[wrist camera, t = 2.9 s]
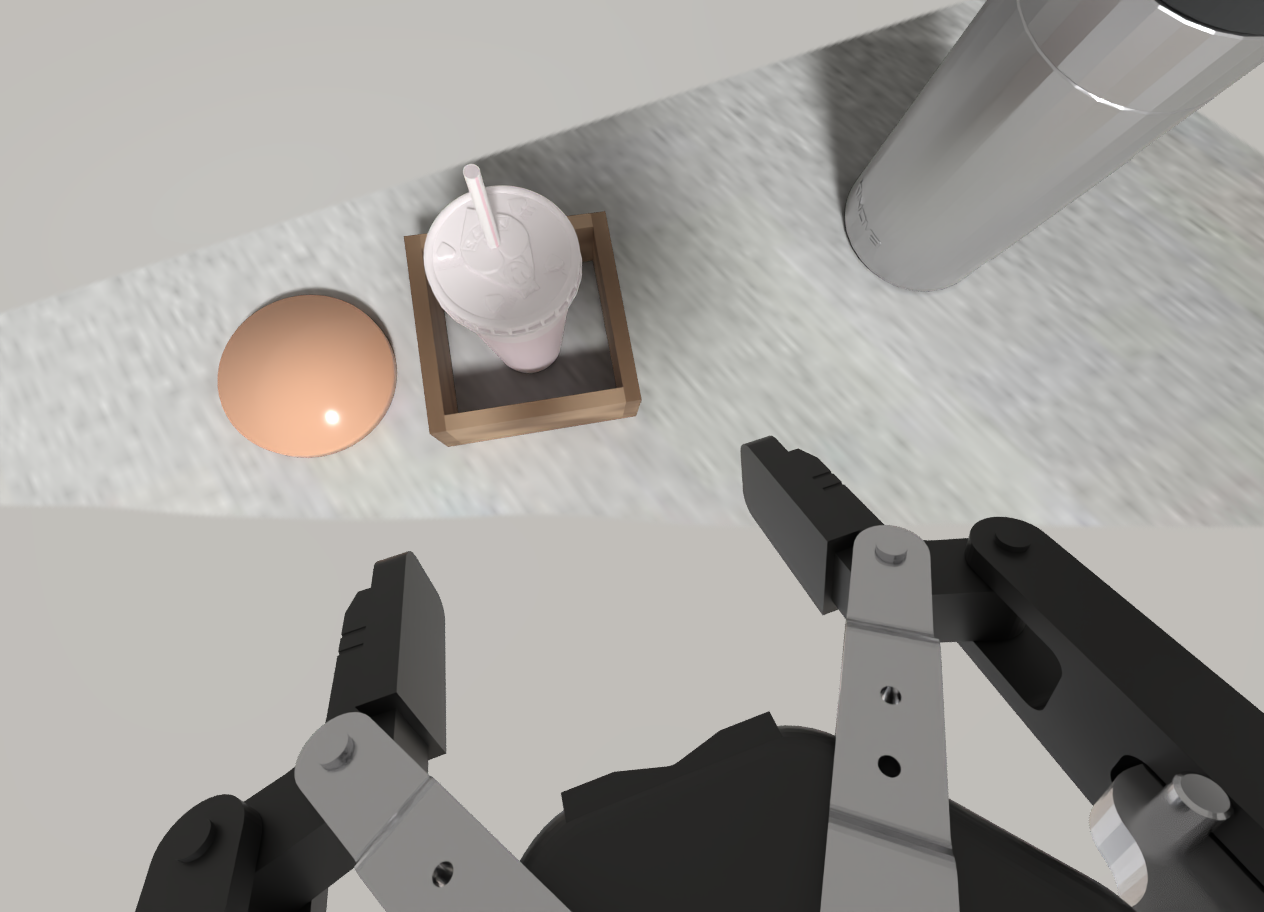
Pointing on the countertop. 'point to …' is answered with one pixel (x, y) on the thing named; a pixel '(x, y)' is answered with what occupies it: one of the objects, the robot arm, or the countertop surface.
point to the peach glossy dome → (307, 376)
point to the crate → (536, 413)
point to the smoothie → (505, 269)
